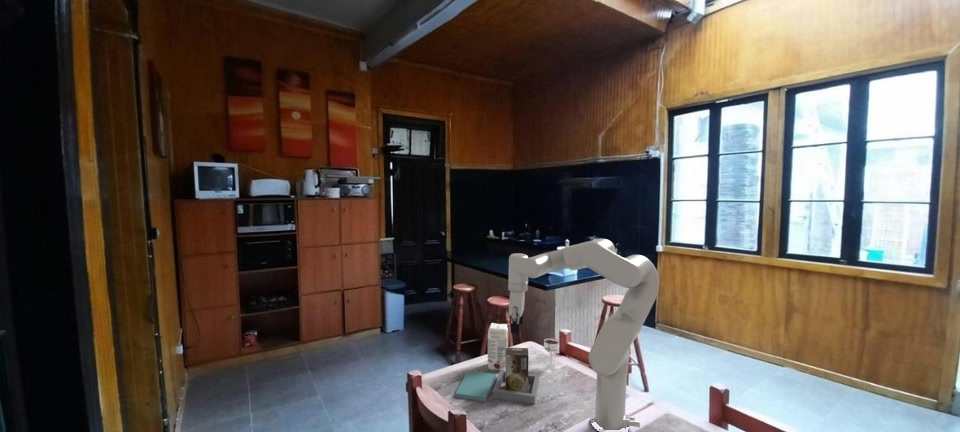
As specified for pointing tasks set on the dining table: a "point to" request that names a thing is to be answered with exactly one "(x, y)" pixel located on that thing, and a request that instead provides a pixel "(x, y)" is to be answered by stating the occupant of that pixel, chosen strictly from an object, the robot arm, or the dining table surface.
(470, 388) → the board
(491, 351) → the juice carton
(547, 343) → the wineglass
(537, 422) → the dining table surface
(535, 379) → the holder
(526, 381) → the cookie box
